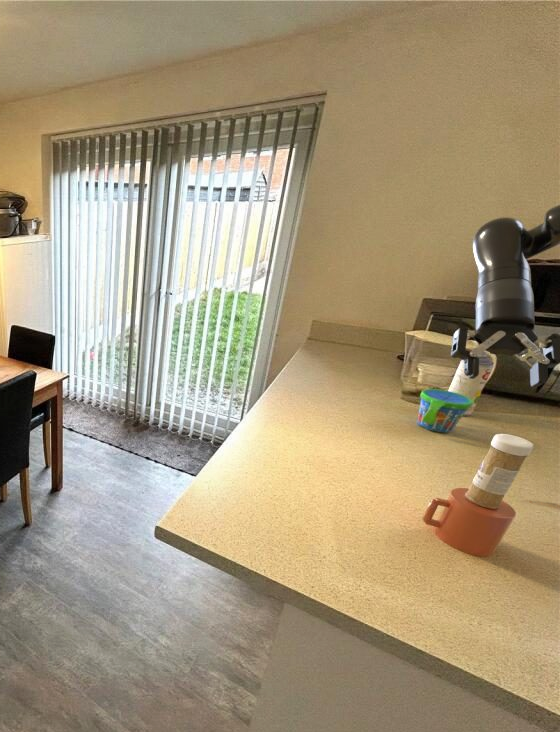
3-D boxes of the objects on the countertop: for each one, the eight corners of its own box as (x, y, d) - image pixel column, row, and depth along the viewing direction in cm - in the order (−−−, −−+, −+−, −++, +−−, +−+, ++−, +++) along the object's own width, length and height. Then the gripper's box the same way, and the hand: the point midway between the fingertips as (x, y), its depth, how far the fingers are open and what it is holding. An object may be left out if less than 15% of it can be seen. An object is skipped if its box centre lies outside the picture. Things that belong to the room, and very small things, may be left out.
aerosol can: (470, 418, 119) (499, 356, 111) (439, 411, 123) (465, 351, 116) (471, 411, 123) (499, 351, 115) (442, 404, 128) (466, 346, 120)
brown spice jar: (461, 490, 75) (491, 430, 70) (495, 499, 73) (529, 437, 68) (467, 504, 72) (499, 441, 67) (502, 513, 69) (539, 449, 64)
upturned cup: (483, 532, 77) (503, 496, 74) (502, 563, 71) (525, 524, 67) (413, 514, 82) (428, 479, 79) (424, 541, 75) (442, 504, 72)
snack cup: (426, 414, 122) (438, 384, 118) (470, 429, 113) (485, 397, 109) (397, 425, 116) (408, 394, 112) (441, 442, 107) (456, 409, 103)
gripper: (465, 294, 77) (463, 366, 73) (571, 299, 71) (577, 379, 66) (446, 314, 84) (443, 382, 79) (542, 321, 77) (545, 395, 73)
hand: (504, 381), depth 73 cm, fingers open, 8 cm apart
